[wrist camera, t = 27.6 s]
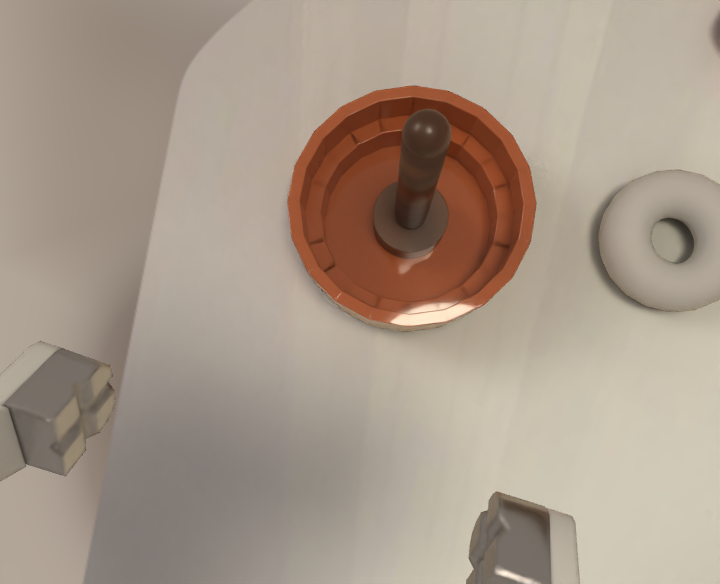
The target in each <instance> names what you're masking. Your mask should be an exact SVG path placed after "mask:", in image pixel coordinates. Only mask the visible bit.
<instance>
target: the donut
mask: <svg viewBox="0 0 720 584" xmlns="http://www.w3.org/2000/svg"><path fill="white" fill-rule="evenodd" d="M664 218H674V219H678V220H680V221H681V222H683V223H684V224H685V225H686V226H687V227H688V228H689V229H690V231H691V233H692V235H693V238H694V250H693V253H692V254H691V256H690V258H689V259H688V260H686V261H685V262H682V263H677V264H675V263H671V262H668V261H666V260H664V259H663V258H661V257H660V256H659V255H658V254H657V253H656V251H655V249H654V247H653V245H652V241H651V234H652V229H653V227H654V225H655V224H656V223H657V222H658V221H659V220H661V219H664ZM598 237H599V246H600V254H601V259H602V261H603V263H604V265H605V267H606V269H607V272H608V274H609V276H610V278H611V279H612V280H613V281H614V282H615V283H616V284H617V285H618V287H619V288H620V289H621V290H622V291H623V292H624V293H625V294H626V295H628V296H629V297H631V298H633V299H635V300H636V301H638V302H640V303H641V304H643V305H645V306H648V307H652V308H656V309H660V310H664V311H670V312H674V311H689V310H696V309H698V308H701V307H703V306H706V305H708V304H711V303H713V302H716V301H718V300H719V299H720V184H718V183H716V182H714V181H713V180H711V179H709V178H707V177H705V176H704V175H700V174H696V173H691V172H687V171H683V170H666V171H656V172H653V173H650V174H648V175H645V176H643V177H640V178H638V179H635V180H633V181H631V182H630V183H629V184H628V185H626V186H625V187H624V188H623V189H622V190H620V191H619V192H618V193H617V194H616V195H615V196H614V197H613V199H612V201H611V202H610V204H609V206H608V207H607V209H606V211H605V212H604V214H603V216H602V221H601V226H600V231H599V235H598Z"/></svg>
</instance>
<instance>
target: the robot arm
mask: <svg viewBox="0 0 720 584" xmlns="http://www.w3.org/2000/svg"><path fill="white" fill-rule="evenodd" d="M112 377H113V373H112V368H111V365H109V364H106V363H103V362H100V361H97V360H94V359H91V358H89V357H86V356H83V355H80V354H77V353H74V352H71V351H69V350H66V349H63V348H60V347H57V346H54V345H51V344H48V343H45V342H42V341H39V342H37V343H35V344H33V345H31V346H30V347H29V348H28V349H27V350H26V351H25V352H23V353H22V354H21V355H20V356H19V357H18V358H17V359H16V360H15V361H14V362H13V363H12V364H11V365H10V366H8V367H7V368H6V369H5V370H4V371H3V372H2V373H1V374H0V481H2V480H3V479H5V478H7V477H9V476H11V475H12V474H14V473H16V472H18V471H19V470H21V469H23V468H25V467H26V464H27V465H31V466H34V467H37V468H40V469H43V470H47V471H50V472H53V473H56V474H59V475H63V476H66V475H67V474H68V473H69V471H70V470H71V468H73V466H74V465H75V464H76V462H77V461H78V460H79V459H80V457H81V456H82V455H83V453H84V452H85V451H86V439H87V438H89V437H91V436H93V435H95V434H97V433H100V431H101V430H102V429H103V427H104V426H105V425H106V423H107V422H108V420H109V418H110V416H111V413H112V411H113V409H114V405H115V399H116V397H115V390H114V389H113V388H112V386H111V385H110V384H109V383H108V382H109V380H110V379H111V378H112ZM469 560H470V562H471V564H472V566H473V568H474V570H473V571H472V573H471V574H470V576H469V577H468V579H467V580H466V584H580V579H579V566H578V552H577V538H576V524H575V521H574V519H573V517H572V516H570V515H568V514H564V513H561V512H558V511H555V510H551V509H548V508H545V506H542V505H538V504H535V503H532V502H529V501H526V500H522V499H519V498H516V497H513V496H510V495H506V494H503V493H500V492H495V493H493V495H492V496H491V498H490V499H489V503H488V510H487V511H484V512H481V514H480V516H479V517H478V519H477V521H476V523H475V526H474V529H473V532H472V536H471V542H470V549H469Z"/></svg>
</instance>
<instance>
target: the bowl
mask: <svg viewBox="0 0 720 584" xmlns="http://www.w3.org/2000/svg"><path fill="white" fill-rule="evenodd" d="M423 109H432V110H435V111H438V112H440V113H441V114H443V115H444V116H445V117H446V119H447V120H448V122H449V124H450V127H451V141H450V144H449V147H448V151H447V154H446V157H445V160H444V163H443V167H442V170H441V173H440V176H439V180H438V183H437V186H436V189H437V190H438V191H439V192H440V193H441V194H442V196H443V197H444V199H445V201H446V204H447V207H448V214H449V217H448V224H447V228H446V230H445V232H444V234H443V236H442V238H441V241H440V242H439V244H438V245H437V246H436V247H435V248H434V249H433V250H432V251H431V252H429V253H428V254H426V255H424V256H421V257H418V258H412V259H406V258H400V257H397V256H394V255H392V254H390V253H389V252H387V251H386V250H385V249H384V248H383V247H382V246H381V245H380V243H379V242H378V240H377V238H376V236H375V233H374V227H373V209H374V205H375V202H376V200H377V198H378V196H379V195H380V193H381V192H382V191H383V190H384V189H385V188H386V187H387V186H389V185H390V184H392V183H394V182H396V181H398V172H399V161H400V150H401V139H402V130H403V127H404V124H405V122H406V121H407V119H408V118H409V117H410V116H411V115H412V114H414V113H415V112H417V111H419V110H423ZM288 210H289V219H290V227H291V236H292V240H293V242H294V244H295V246H296V248H297V251H298V253H299V255H300V257H301V259H302V261H303V263H304V265H305V268H306V270H307V272H308V273H309V275H310V276H311V277H312V278H313V280H314V281H315V282H316V284H317V285H318V286H319V287H320V288H321V289H322V290H323V291H324V292H325V293H326V294H327V295H328V296H329V298H330V299H331V300H332V301H333V302H334V303H335V304H336V305H337V306H338V307H339V308H340V309H341V310H343V311H345V312H347V313H348V314H350V315H352V316H354V317H356V318H358V319H360V320H361V321H363V322H365V323H367V324H369V325H371V326H375V327H381V328H386V329H392V330H397V331H402V332H405V331H406V332H409V331H417V330H424V329H432V328H439V327H442V326H444V325H446V324H448V323H450V322H452V321H454V320H456V319H458V318H460V317H463V316H465V315H467V314H469V313H471V312H472V311H474V310H476V309H478V308H479V307H481V306H483V305H484V304H486V303H487V302H488V301H489V300H490V299H491V298H492V297H493V296H494V295H495V294H496V293H497V292H498V291H499V290H500V289H501V288H502V287H503V286H504V285H505V284H506V283H507V282H508V281H509V280H511V279H512V277H513V276H514V274H515V272H516V270H517V268H518V266H519V264H520V262H521V260H522V259H523V257H524V255H525V253H526V251H527V249H528V247H529V245H530V242H531V237H532V231H533V224H534V217H535V211H536V199H535V193H534V188H533V182H532V176H531V171H530V168H529V165H528V163H527V161H526V159H525V158H524V156H523V154H522V152H521V150H520V148H519V146H518V145H517V143H516V141H515V139H514V137H513V135H512V134H511V133H510V132H509V131H508V130H507V129H506V128H505V127H503V126H502V125H501V124H500V123H499V122H498V121H497V120H496V119H495V118H494V117H493V116H492V115H491V114H490V113H489V112H488V111H487V110H486V109H484V108H483V107H481V106H479V105H477V104H475V103H473V102H471V101H469V100H467V99H464V98H462V97H460V96H458V95H456V94H454V93H452V92H450V91H445V90H439V89H432V88H426V87H420V86H406V87H399V88H392V89H384V90H377V91H374V92H371V93H369V94H367V95H365V96H363V97H361V98H359V99H357V100H354V101H352V102H350V103H348V104H346V105H344V106H342V107H340V108H339V109H338V110H337V111H336V112H335V113H334V114H333V115H332V116H331V117H329V118H328V119H327V120H326V121H325V122H324V123H323V124H322V125H321V126H320V127H319V128H317V129H316V130H315V131H314V133H313V134H312V136H311V138H310V139H309V141H308V143H307V145H306V146H305V148H304V150H303V152H302V153H301V155H300V157H299V159H298V160H297V162H296V165H295V167H294V172H293V176H292V181H291V186H290V191H289V196H288Z"/></svg>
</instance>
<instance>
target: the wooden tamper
mask: <svg viewBox="0 0 720 584" xmlns="http://www.w3.org/2000/svg"><path fill="white" fill-rule="evenodd" d="M450 141H451V127H450V124H449V122H448V120H447V119H446V117H445V116H444V115H443V114H441V113H440V112H438V111H435V110H432V109H423V110H419V111H417V112H415V113H414V114H412V115H411V116H410V117H409V118H408V119H407V121H406V122H405V124H404V127H403V130H402V139H401V150H400V161H399V172H398V181H396V182H394V183H392V184H390V185H389V186H387V187H386V188H385V189H384V190H383V191H382V192H381V193H380V195H379V196H378V198H377V200H376V202H375V205H374V209H373V227H374V233H375V236H376V238H377V240H378V242H379V243H380V245H381V246H382V247H383V248H384V249H385V250H386V251H387V252H389V253H390V254H392V255H394V256H397V257H400V258H406V259H412V258H418V257H421V256H424V255H426V254H428V253H429V252H431V251H432V250H433V249H434V248H435V247H436V246H437V245H438V244H439V242H440V241H441V238H442V236H443V234H444V232H445V230H446V228H447V224H448V217H449V214H448V207H447V204H446V201H445V199H444V197H443V196H442V194H441V193H440V192H439V191H438V190H437V189H436V186H437V183H438V180H439V176H440V173H441V170H442V167H443V163H444V160H445V157H446V154H447V151H448V147H449V144H450Z"/></svg>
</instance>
